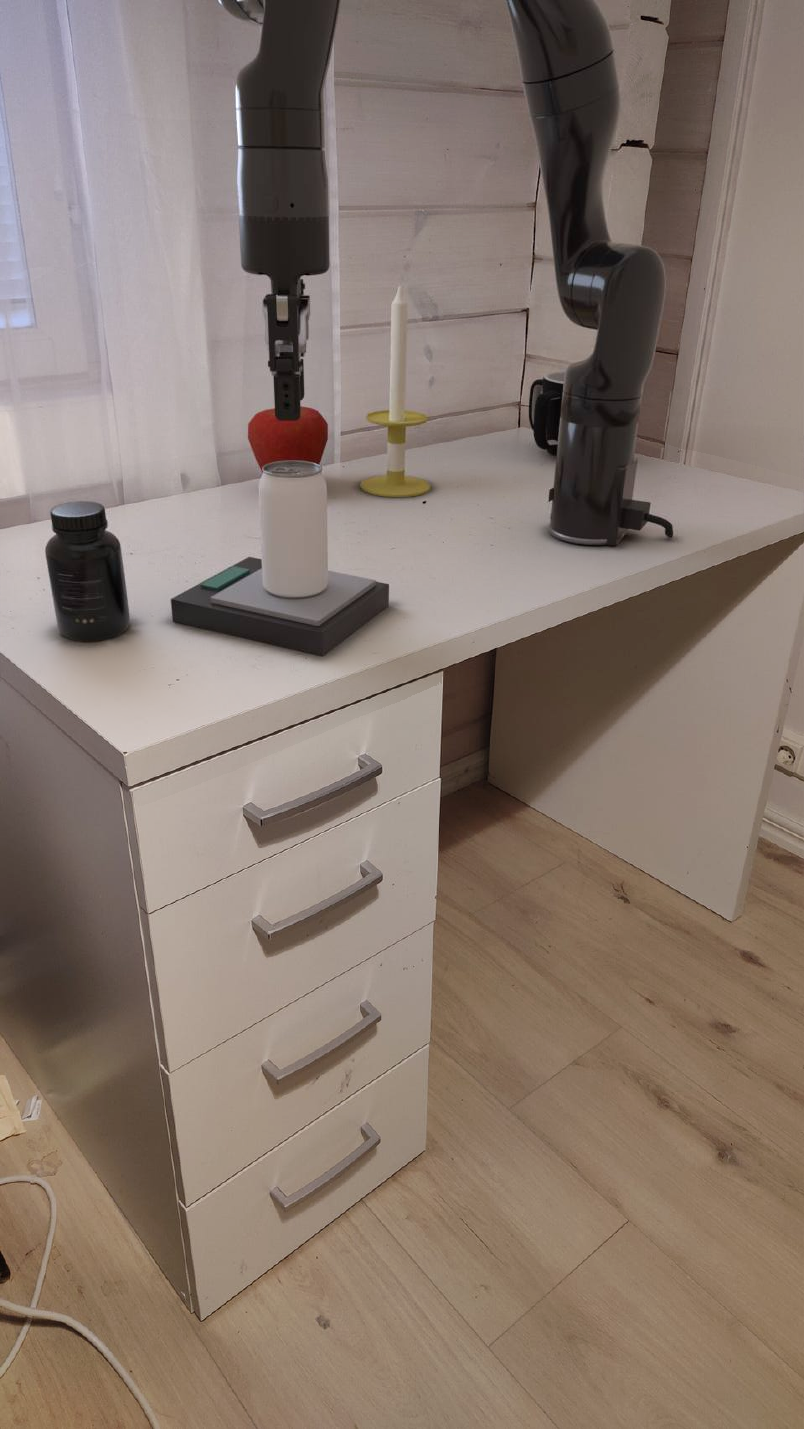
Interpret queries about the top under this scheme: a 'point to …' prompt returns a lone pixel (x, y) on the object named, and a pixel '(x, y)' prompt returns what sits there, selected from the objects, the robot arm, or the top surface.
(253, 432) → the apple
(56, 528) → the supplement bottle
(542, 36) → the robot arm
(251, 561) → the scale
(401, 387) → the candle
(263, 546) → the can
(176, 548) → the top surface
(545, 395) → the mug
